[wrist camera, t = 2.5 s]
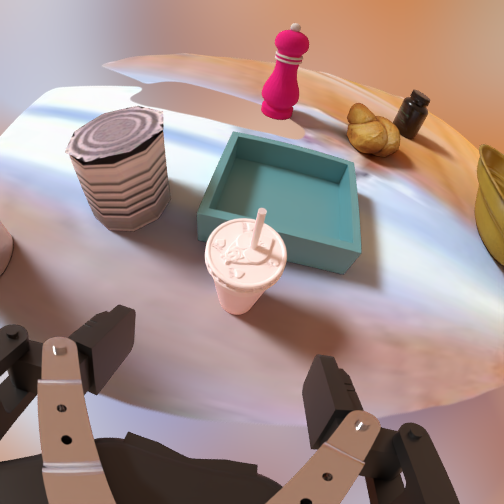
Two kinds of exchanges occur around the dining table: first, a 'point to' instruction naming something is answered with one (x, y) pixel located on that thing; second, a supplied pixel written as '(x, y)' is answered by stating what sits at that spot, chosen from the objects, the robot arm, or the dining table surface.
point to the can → (123, 167)
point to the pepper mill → (284, 74)
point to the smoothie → (244, 261)
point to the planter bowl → (491, 200)
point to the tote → (288, 199)
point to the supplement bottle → (412, 114)
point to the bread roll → (371, 132)
